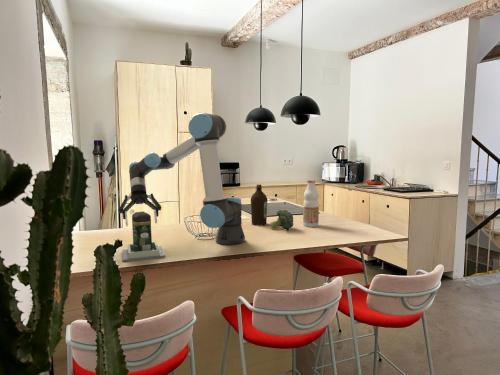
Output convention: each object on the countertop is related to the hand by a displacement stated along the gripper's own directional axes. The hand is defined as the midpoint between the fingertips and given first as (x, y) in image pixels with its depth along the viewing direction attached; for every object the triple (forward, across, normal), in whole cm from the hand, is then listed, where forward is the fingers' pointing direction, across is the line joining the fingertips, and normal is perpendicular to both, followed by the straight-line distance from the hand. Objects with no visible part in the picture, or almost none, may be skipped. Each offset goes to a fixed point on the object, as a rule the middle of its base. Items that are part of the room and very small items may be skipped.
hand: (141, 223), depth 172 cm
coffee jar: (+16, +1, 0) cm, 16 cm away
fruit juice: (+1, -101, -19) cm, 102 cm away
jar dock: (+16, 0, 0) cm, 17 cm away
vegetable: (+2, -80, -17) cm, 82 cm away
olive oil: (-11, -73, -30) cm, 80 cm away
